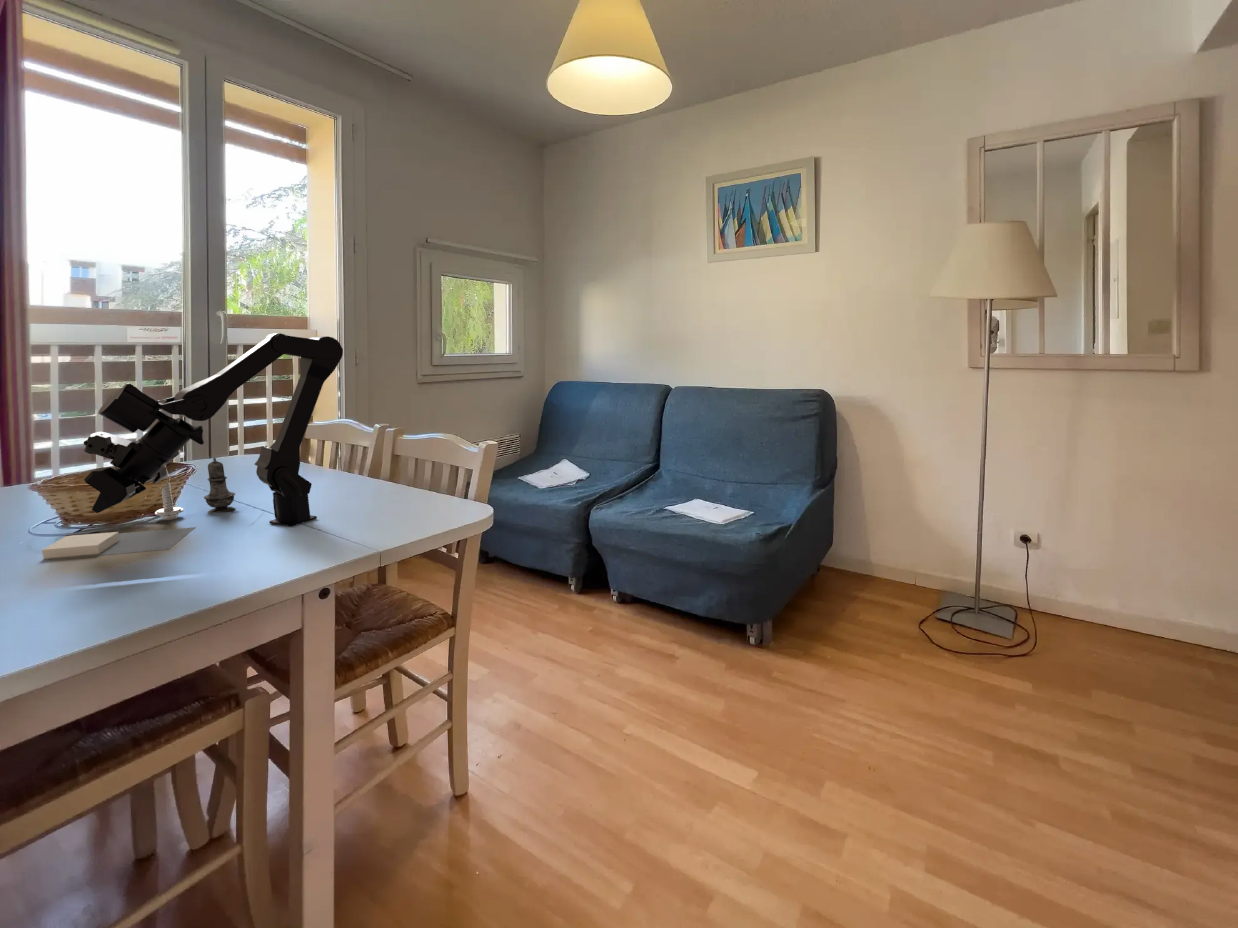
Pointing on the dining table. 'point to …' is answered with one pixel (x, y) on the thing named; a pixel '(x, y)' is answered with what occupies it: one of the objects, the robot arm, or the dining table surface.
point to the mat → (142, 542)
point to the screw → (168, 504)
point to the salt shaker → (218, 489)
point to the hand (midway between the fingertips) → (95, 511)
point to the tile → (81, 545)
